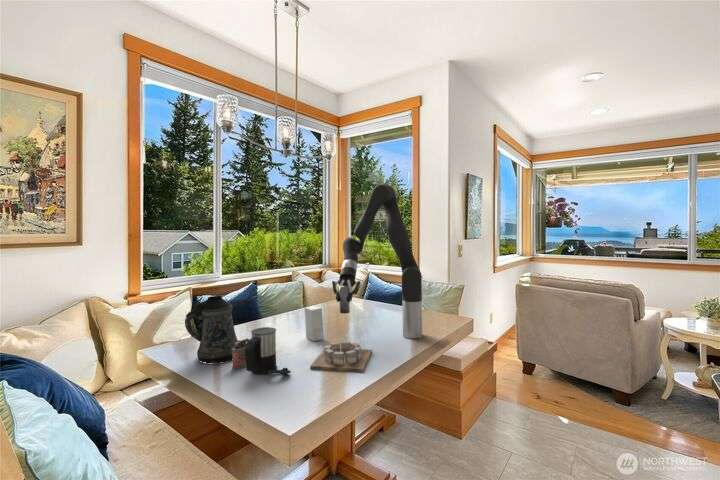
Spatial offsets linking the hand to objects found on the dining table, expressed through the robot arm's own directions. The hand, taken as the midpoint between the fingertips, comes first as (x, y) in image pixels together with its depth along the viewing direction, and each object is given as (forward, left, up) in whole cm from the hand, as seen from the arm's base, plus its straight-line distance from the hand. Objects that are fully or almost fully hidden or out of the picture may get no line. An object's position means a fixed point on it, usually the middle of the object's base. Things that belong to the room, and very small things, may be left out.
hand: (343, 300), depth 154 cm
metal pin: (0, -2, -6) cm, 6 cm away
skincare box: (+16, -6, -20) cm, 26 cm away
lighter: (+33, +30, -20) cm, 49 cm away
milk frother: (+19, +34, -20) cm, 44 cm away
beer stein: (+48, +24, -20) cm, 57 cm away
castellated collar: (-4, +19, -20) cm, 28 cm away
